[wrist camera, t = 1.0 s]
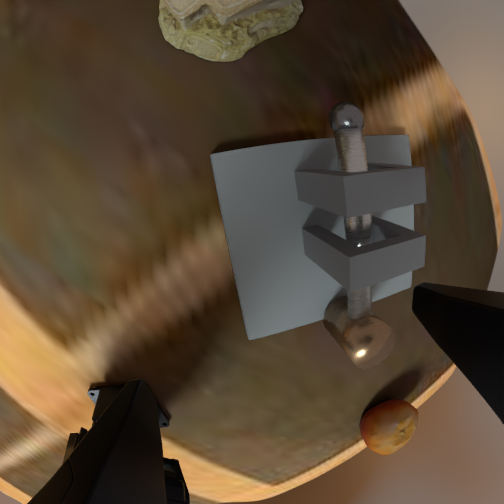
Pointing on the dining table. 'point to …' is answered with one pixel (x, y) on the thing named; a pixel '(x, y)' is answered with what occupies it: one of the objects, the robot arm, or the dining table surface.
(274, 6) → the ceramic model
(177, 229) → the dining table surface
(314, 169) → the barrel bolt latch
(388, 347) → the metal knob rod
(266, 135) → the dining table surface
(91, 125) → the dining table surface
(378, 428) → the fruit
